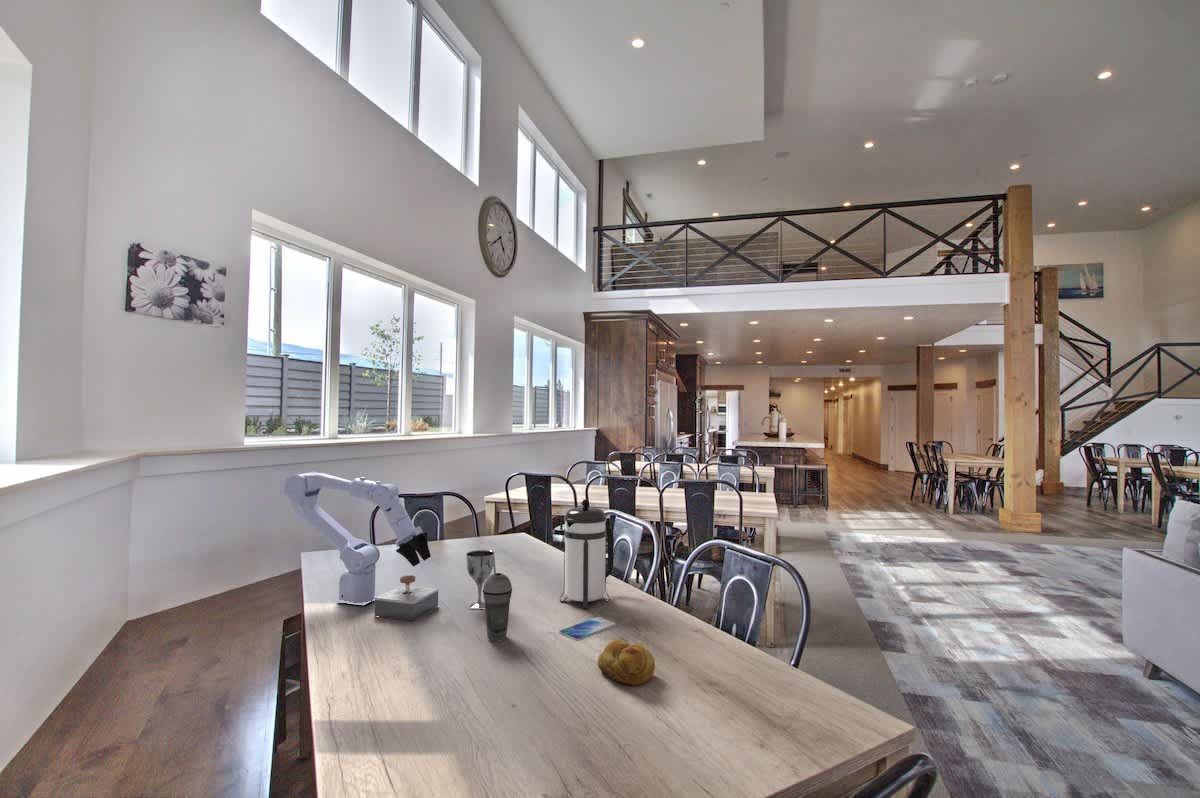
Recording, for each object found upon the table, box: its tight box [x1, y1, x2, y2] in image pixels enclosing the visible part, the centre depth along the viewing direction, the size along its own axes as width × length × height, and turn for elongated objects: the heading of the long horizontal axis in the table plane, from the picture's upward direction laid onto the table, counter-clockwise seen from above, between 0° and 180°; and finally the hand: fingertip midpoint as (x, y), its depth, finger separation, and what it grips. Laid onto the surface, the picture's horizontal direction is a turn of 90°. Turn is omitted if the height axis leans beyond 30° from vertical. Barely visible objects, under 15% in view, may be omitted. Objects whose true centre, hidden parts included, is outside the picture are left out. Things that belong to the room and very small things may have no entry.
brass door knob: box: [399, 575, 416, 595], centre depth 154 cm, size 10×10×6 cm
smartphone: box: [558, 616, 618, 641], centre depth 143 cm, size 7×1×15 cm
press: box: [374, 584, 439, 622], centre depth 155 cm, size 12×14×5 cm
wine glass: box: [465, 549, 495, 608], centre depth 160 cm, size 8×8×15 cm
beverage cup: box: [482, 554, 513, 642], centre depth 137 cm, size 7×7×20 cm
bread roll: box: [597, 639, 656, 686], centre depth 117 cm, size 13×10×8 cm
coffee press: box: [559, 498, 615, 610], centre depth 166 cm, size 17×16×30 cm
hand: (422, 561), depth 162 cm, fingers open, 7 cm apart
